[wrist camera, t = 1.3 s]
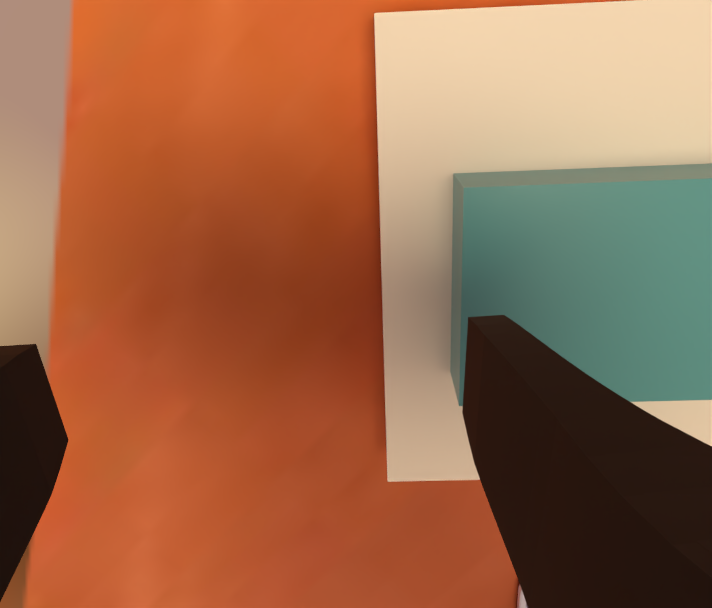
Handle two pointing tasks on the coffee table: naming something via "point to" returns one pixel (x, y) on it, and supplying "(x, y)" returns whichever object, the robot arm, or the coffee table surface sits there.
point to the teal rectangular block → (592, 271)
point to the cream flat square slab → (512, 164)
